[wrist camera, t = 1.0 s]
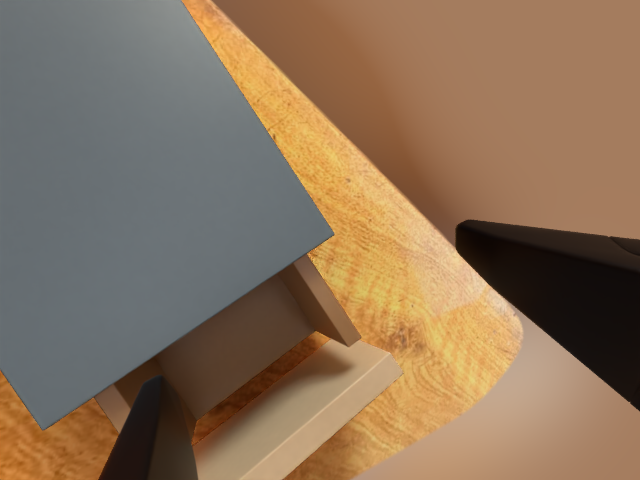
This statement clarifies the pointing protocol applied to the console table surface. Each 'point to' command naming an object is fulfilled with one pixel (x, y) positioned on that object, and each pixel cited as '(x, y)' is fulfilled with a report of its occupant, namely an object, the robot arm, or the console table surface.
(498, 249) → the robot arm
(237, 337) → the drawer
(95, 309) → the cabinet
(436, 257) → the console table surface
